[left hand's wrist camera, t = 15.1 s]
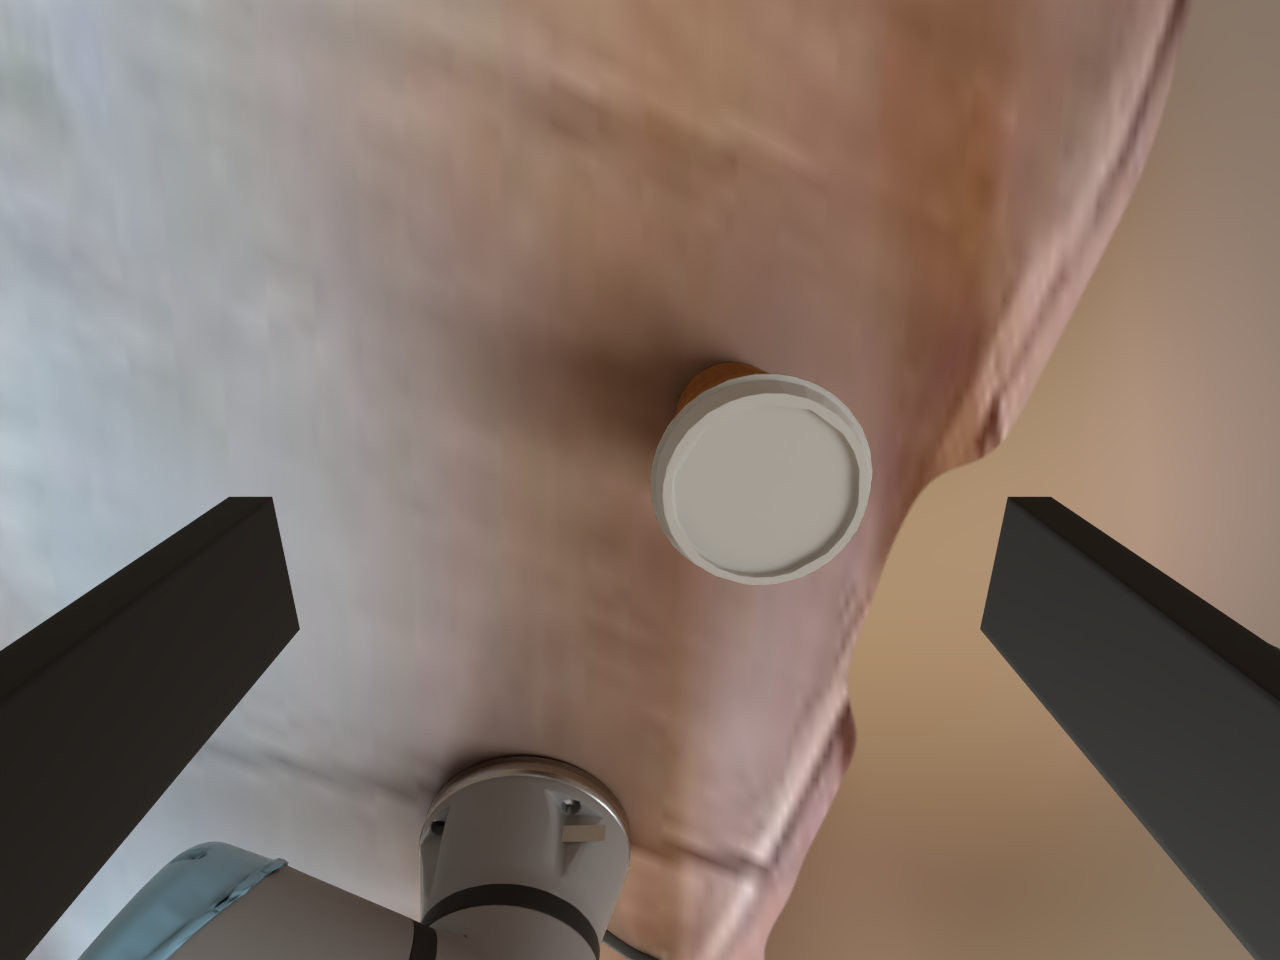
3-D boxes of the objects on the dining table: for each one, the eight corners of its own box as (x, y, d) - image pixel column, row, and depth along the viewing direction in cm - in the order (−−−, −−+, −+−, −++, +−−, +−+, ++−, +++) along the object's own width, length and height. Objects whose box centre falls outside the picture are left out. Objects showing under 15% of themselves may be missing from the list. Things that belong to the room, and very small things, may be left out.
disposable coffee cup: (846, 398, 39) (930, 469, 28) (741, 520, 42) (779, 631, 30) (716, 297, 37) (749, 331, 26) (614, 433, 40) (605, 517, 28)
